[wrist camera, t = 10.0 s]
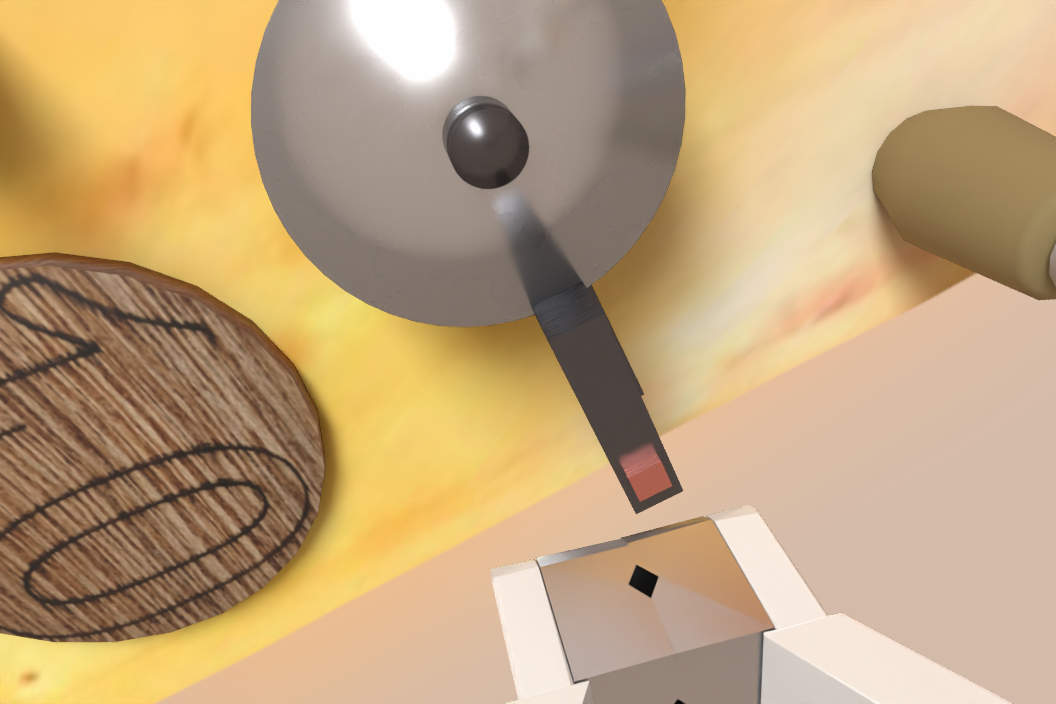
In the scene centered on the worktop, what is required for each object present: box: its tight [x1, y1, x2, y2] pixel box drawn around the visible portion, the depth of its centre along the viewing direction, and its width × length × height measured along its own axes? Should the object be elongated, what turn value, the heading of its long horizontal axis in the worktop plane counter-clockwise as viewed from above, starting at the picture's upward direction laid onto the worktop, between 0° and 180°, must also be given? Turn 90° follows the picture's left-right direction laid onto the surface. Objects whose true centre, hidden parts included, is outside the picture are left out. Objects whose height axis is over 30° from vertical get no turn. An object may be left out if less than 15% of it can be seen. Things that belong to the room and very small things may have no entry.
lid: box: [251, 0, 685, 514], centre depth 31 cm, size 16×26×5 cm, turn 24°
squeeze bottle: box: [872, 106, 1056, 300], centre depth 39 cm, size 8×8×18 cm
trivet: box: [0, 253, 325, 642], centre depth 44 cm, size 25×25×2 cm
